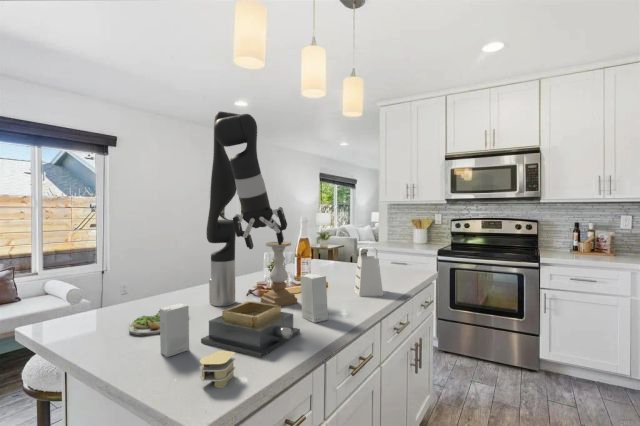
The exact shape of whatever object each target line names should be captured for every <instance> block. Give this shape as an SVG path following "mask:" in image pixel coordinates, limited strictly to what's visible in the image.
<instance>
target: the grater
mask: <svg viewBox="0 0 640 426" xmlns="http://www.w3.org/2000/svg"><path fill="white" fill-rule="evenodd" d="M363 249H374V255H369V256H365V255H364V256H362V250H363ZM379 259H380V258H378V250H377V249H376V248H375V247H374V246H373V247H370V246H369V247H366V246H365V247H360V248H359V249H358V256H357V264H356V270H355V278H354V279H355V281H354V287H353V288H354V289H353V290H354V292H355V293H356V294H357V296H358V297H379V296H380V297H381V296H382V297H383V296H384V292H383V282H382V276H381V267H380V260H379Z"/></svg>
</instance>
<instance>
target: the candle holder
mask: <svg viewBox="0 0 640 426" xmlns="http://www.w3.org/2000/svg"><path fill="white" fill-rule="evenodd" d="M265 246H266V247H268V248H269V247H270V248H271V250H272V251H273V257H272V258H271V260H272V262H273V263H274V266H273V268H272V270H271V271H270V273H269V279H270V281H271V282H272V283H271V284H270V287H271V289H270V291H268V292H265V293H263V295H262V296H261V297H260V303H266V304H273V305H279V306H281V307H286V306H290V305H294V304H298V298H297V297H296V295H295V294H294V293H292V292H289V290H288V289H286V288H287V283H286V281H287V280H288V277H289V275H288V272H287V270H286V269H285V266H284V262H285V260H286V257H285V256H284V251H285V250H286V247H290V246H292V242H289V241H283V242H282V244H281V245H279V244H278V241H270V242H269V241H268V242H266V243H265Z"/></svg>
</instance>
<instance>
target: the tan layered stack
mask: <svg viewBox="0 0 640 426" xmlns="http://www.w3.org/2000/svg"><path fill="white" fill-rule="evenodd" d="M235 354H236V351H230V350H229V351H227V350H218V351H216V352H213V353H212V354H209V355H207V356H205V357H203V358H202V359H200V360H199V362H200V364H201V365H199V369H200V371H201V375H199V378H200V380H201V381H202V382H214V387H215V388H219V389H220V388H224V387H226V386H227V384H228V381H229V380H230V379H232V378H233V377H234V375H235V374H234V371H235V370H236V366H234V362H235V360H236V357H233V356H234V355H235Z"/></svg>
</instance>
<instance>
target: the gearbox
mask: <svg viewBox="0 0 640 426" xmlns="http://www.w3.org/2000/svg"><path fill="white" fill-rule="evenodd" d="M281 307H282V306H279V305H273V304H266V303H262V302H261V301H260V302H259V301H253V300H252V301H245V302H243V303H239V304H237V305H235V306H232V307H229V308H227V309H224V310H222V311H221V315H220V316H217V317H215V318H213V319H210V320H208V335H206V336H203V337H202V338H200V343H201V344H203V345H209V346H212V347H215V348H220V349H223V350H229V351H231V352H235V353H236V352H237V353H240V354H245V355H247V356H253V357H257V358H260V359H262V358H263V357H265V356H267V355H268V354H269V353H271V352H273V351H274V350H275V349H276V350H277V348H279V347H280V346H282V345H284V344H285V343H286V342H288V341H289V340H292V339H293V338H294V337H296V336H298V335H299V334H300V333H301V329H300V328H297V327H294V313H290V312H285V311H283V312H282V311H281V310H282V308H281Z"/></svg>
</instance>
